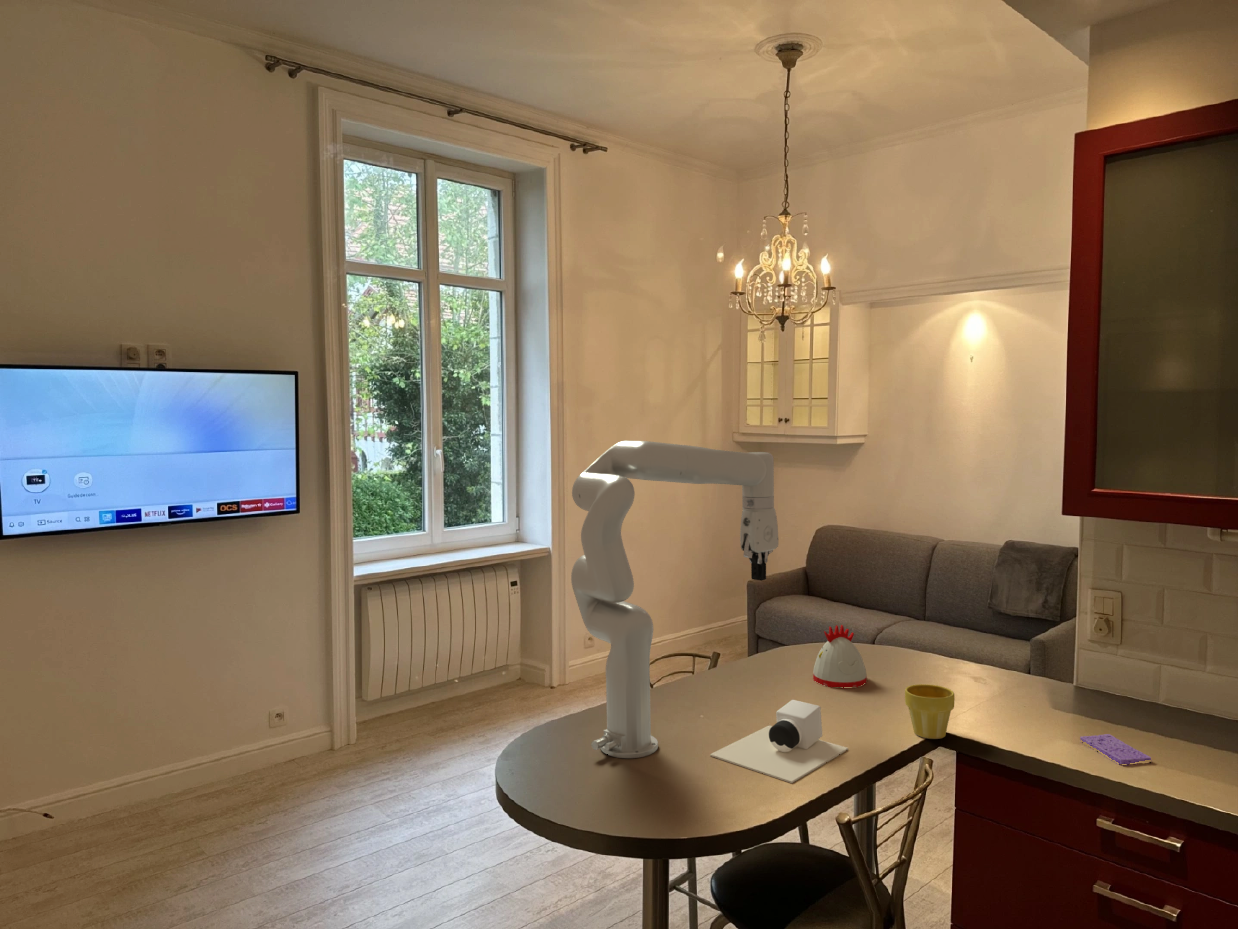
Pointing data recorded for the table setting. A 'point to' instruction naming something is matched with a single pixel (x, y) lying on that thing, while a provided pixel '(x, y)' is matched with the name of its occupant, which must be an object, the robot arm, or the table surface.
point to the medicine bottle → (796, 726)
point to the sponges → (1115, 749)
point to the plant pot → (929, 709)
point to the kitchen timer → (839, 661)
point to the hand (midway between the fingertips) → (758, 579)
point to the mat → (777, 756)
